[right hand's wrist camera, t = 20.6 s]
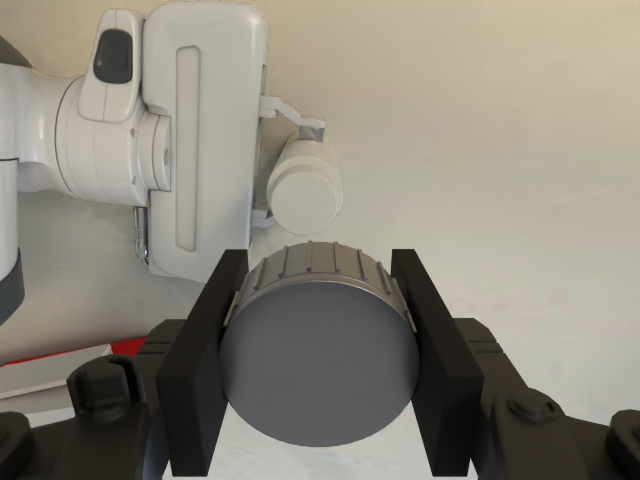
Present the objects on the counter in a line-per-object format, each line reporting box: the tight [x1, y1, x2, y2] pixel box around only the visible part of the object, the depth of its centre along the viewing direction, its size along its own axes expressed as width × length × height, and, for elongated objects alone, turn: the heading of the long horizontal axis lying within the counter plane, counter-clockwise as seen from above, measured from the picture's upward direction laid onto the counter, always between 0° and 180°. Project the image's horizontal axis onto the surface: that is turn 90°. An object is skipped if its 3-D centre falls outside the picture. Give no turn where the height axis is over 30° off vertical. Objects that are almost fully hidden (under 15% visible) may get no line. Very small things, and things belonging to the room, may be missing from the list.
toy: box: [0, 337, 146, 428], centre depth 41 cm, size 12×13×30 cm
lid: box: [218, 241, 421, 447], centre depth 11 cm, size 5×5×2 cm
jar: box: [266, 130, 343, 236], centre depth 29 cm, size 4×4×16 cm
